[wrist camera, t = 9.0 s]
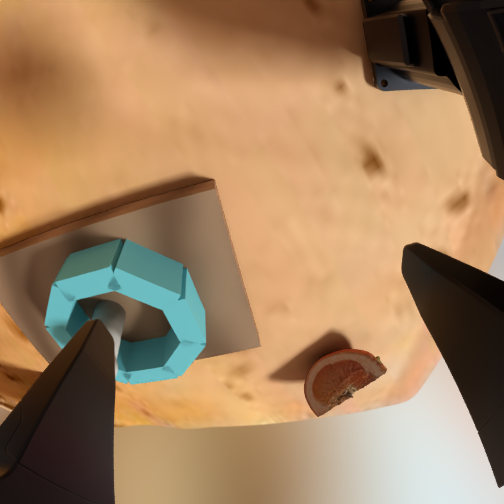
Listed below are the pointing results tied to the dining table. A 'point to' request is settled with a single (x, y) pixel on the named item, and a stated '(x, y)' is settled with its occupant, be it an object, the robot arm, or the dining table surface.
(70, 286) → the teal octagonal ring
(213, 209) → the hook board
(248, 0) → the dining table surface
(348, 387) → the fruit slice
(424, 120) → the dining table surface
